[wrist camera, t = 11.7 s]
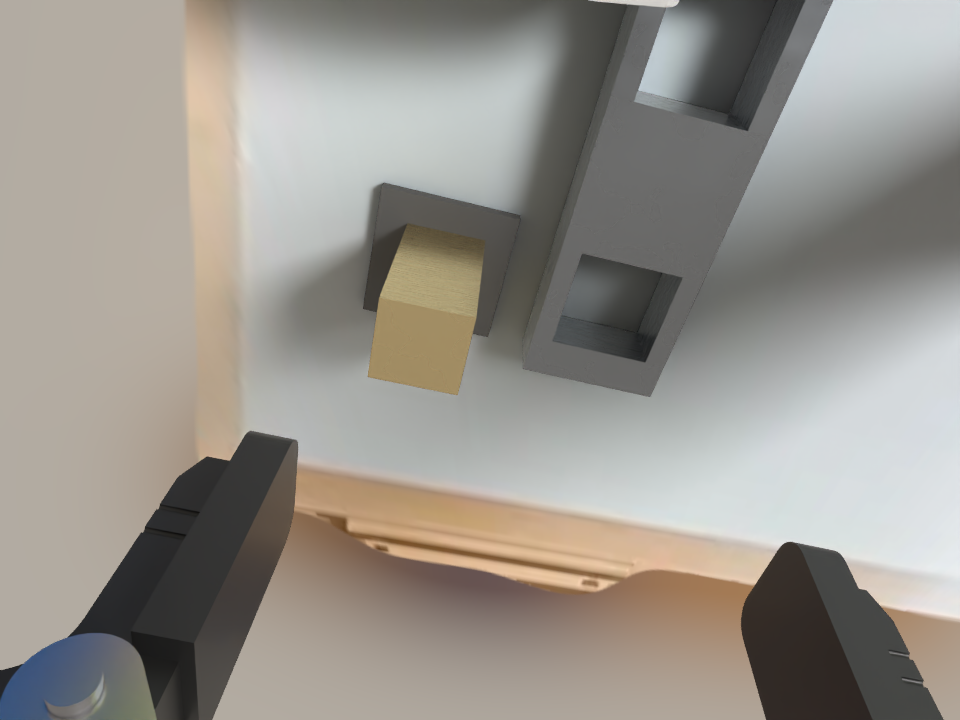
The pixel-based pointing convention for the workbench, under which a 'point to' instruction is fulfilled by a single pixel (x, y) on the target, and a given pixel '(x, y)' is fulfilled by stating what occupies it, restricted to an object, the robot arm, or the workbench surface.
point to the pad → (449, 217)
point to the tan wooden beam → (428, 310)
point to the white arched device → (644, 2)
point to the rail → (658, 196)
